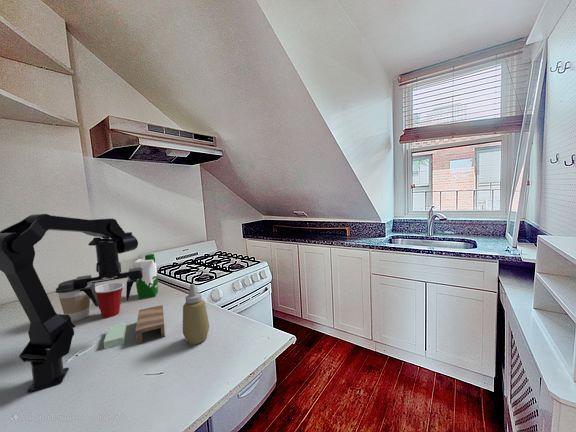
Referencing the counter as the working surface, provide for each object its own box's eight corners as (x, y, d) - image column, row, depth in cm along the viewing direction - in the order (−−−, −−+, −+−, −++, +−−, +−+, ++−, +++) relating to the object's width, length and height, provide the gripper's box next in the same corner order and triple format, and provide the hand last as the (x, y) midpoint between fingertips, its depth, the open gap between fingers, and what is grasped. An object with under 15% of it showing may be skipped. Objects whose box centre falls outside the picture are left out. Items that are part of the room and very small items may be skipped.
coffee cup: (100, 314, 105) (96, 279, 104) (64, 327, 96) (60, 288, 95) (89, 309, 111) (85, 276, 110) (55, 320, 102) (50, 284, 101)
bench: (165, 336, 84) (163, 323, 84) (137, 344, 80) (135, 330, 80) (163, 316, 100) (162, 304, 100) (140, 321, 96) (139, 310, 96)
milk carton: (156, 297, 122) (153, 255, 121) (135, 300, 119) (131, 258, 118) (160, 291, 130) (156, 252, 129) (140, 294, 127) (136, 254, 126)
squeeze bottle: (181, 349, 76) (176, 290, 75) (185, 336, 84) (180, 282, 83) (210, 344, 78) (205, 286, 77) (210, 331, 86) (206, 278, 85)
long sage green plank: (123, 345, 81) (122, 337, 81) (104, 350, 79) (103, 342, 79) (126, 329, 92) (125, 322, 92) (109, 333, 89) (108, 326, 89)
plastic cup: (110, 321, 98) (107, 291, 97) (87, 320, 100) (84, 290, 100) (133, 309, 109) (130, 281, 108) (112, 308, 111) (109, 281, 110)
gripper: (141, 249, 95) (145, 290, 96) (78, 257, 86) (83, 301, 87) (139, 254, 85) (144, 299, 86) (68, 263, 77) (74, 313, 78)
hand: (112, 303), depth 85 cm, fingers open, 8 cm apart
